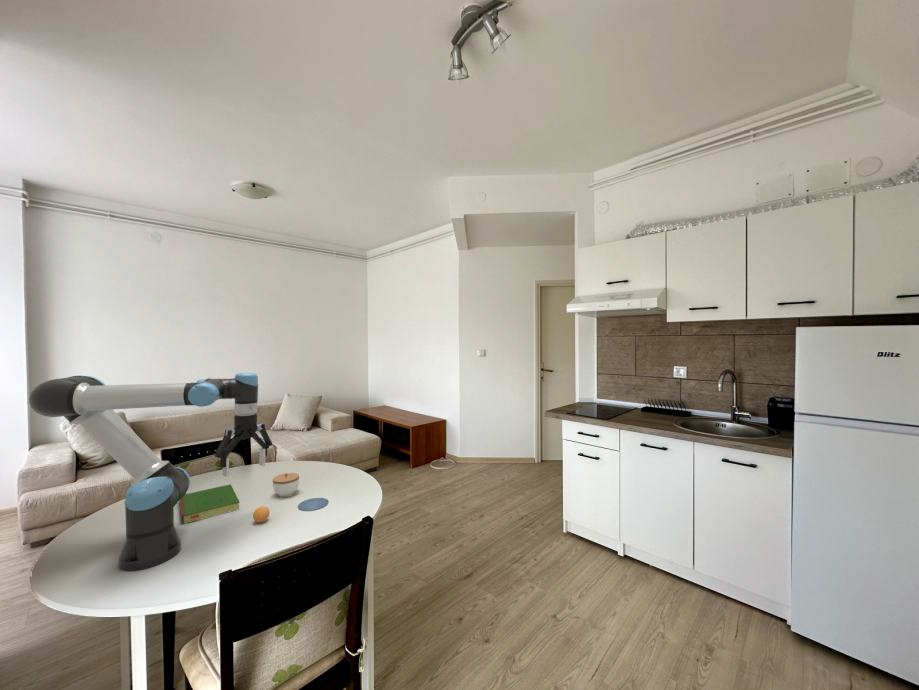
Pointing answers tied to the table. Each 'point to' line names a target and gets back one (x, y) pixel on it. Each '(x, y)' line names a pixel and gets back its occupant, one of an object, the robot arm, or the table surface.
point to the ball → (261, 514)
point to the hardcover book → (208, 503)
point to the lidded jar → (286, 484)
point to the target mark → (313, 504)
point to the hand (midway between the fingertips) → (244, 470)
